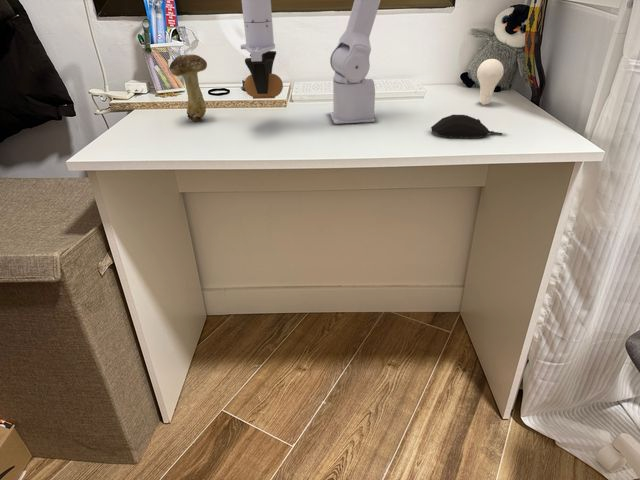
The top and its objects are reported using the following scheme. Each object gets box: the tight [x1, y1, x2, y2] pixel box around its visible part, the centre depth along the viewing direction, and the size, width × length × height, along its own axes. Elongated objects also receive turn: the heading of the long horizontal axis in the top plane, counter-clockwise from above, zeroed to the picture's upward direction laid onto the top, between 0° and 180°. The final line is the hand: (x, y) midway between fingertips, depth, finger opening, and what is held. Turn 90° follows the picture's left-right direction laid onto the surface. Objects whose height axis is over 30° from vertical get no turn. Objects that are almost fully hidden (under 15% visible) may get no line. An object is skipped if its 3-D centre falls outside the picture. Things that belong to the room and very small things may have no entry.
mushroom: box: [168, 53, 208, 122], centre depth 102 cm, size 9×9×15 cm
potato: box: [243, 73, 284, 100], centre depth 95 cm, size 8×5×5 cm, turn 89°
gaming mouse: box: [430, 114, 503, 139], centre depth 93 cm, size 6×15×4 cm, turn 83°
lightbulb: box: [476, 58, 505, 106], centre depth 109 cm, size 6×6×11 cm
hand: (264, 90), depth 96 cm, fingers closed on potato, 5 cm apart
